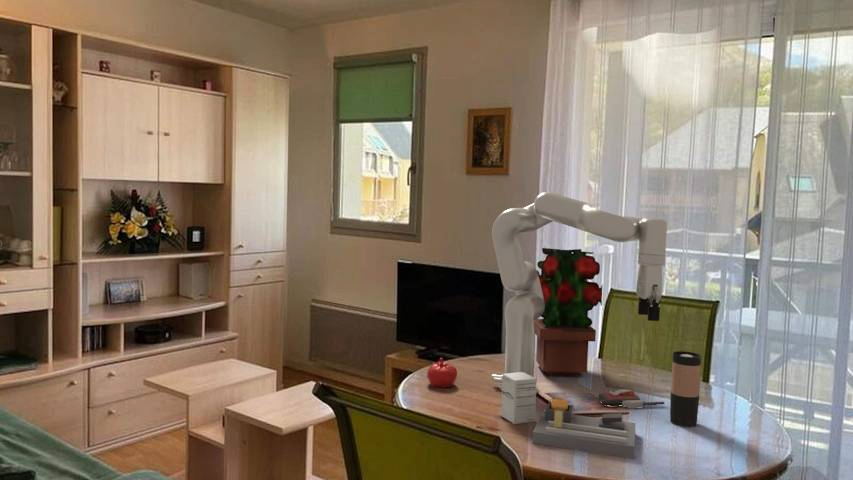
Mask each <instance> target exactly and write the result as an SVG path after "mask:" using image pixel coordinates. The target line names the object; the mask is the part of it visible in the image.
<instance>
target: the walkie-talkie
mask: <svg viewBox="0 0 853 480" xmlns="http://www.w3.org/2000/svg"><path fill="white" fill-rule="evenodd" d="M597 396H598V397H597V401H598V400H599V401H601V402H602V404H601V405H602V406H604V405H606V406H607V405H610V406H619V405H622V406H625V407H630V408H629V409H637V408H636V407H645V406H647V407H648V406H658V405H665V404H666V402H664V401H641V398H640V396H638V395H636V394H635V392H634V391H633V390H630V389H626V388H625V389H617V390H615V391H613V390H609V392H602V393H600V392H599V393H597Z"/></svg>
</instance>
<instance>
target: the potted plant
mask: <svg viewBox="0 0 853 480" xmlns="http://www.w3.org/2000/svg"><path fill="white" fill-rule="evenodd" d="M541 251H542V254H544V255H545V259H544V260H539V261H538V262H537V263H536V265H537V267H538V269H540V270H541V271H540V272H541V273H540V272H539V270H537V272H538V275H539V279H540V284H541V288H542V292H543V297H544V302H545V309H544V312H543V314H542V315H541V316H540V317H541V318H537V319H536V320H534V328H535V336H536V351H535V352H536V356H535V361H536V362H537V364H538V365H539V367H540V368H541V370H542V372H544V373H545V374H546V375H547V376H559V377H563V376H564V377H581V373H585V374H586V373H588V362H589V361H588V360H589V359H588V358H589V356H588V355H589V342H596V337H597V336H596V334H597V330H596V329H595V328H593V327H592V325H593V319H592V318H591V317H589V311H592V310H593V309H594V307H596V306H597V305H598V304H600V306H601V307H602V305H603V303H602V302H603V284H601V286H600V285H599V284H598V283H597V282H595V281H591V280H593V279H594V278H595V276H598V275H599V274H600V273H601V265H600V263H599V262H598V261H596V259H595V257H594V256H593V255H594V252H593V251H592V252H591V251H582V248H577V249H559V248H558V249H557V248H546V247H541ZM587 254H589V255H587ZM592 254H593V255H592ZM588 280H589V281H588Z"/></svg>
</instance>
